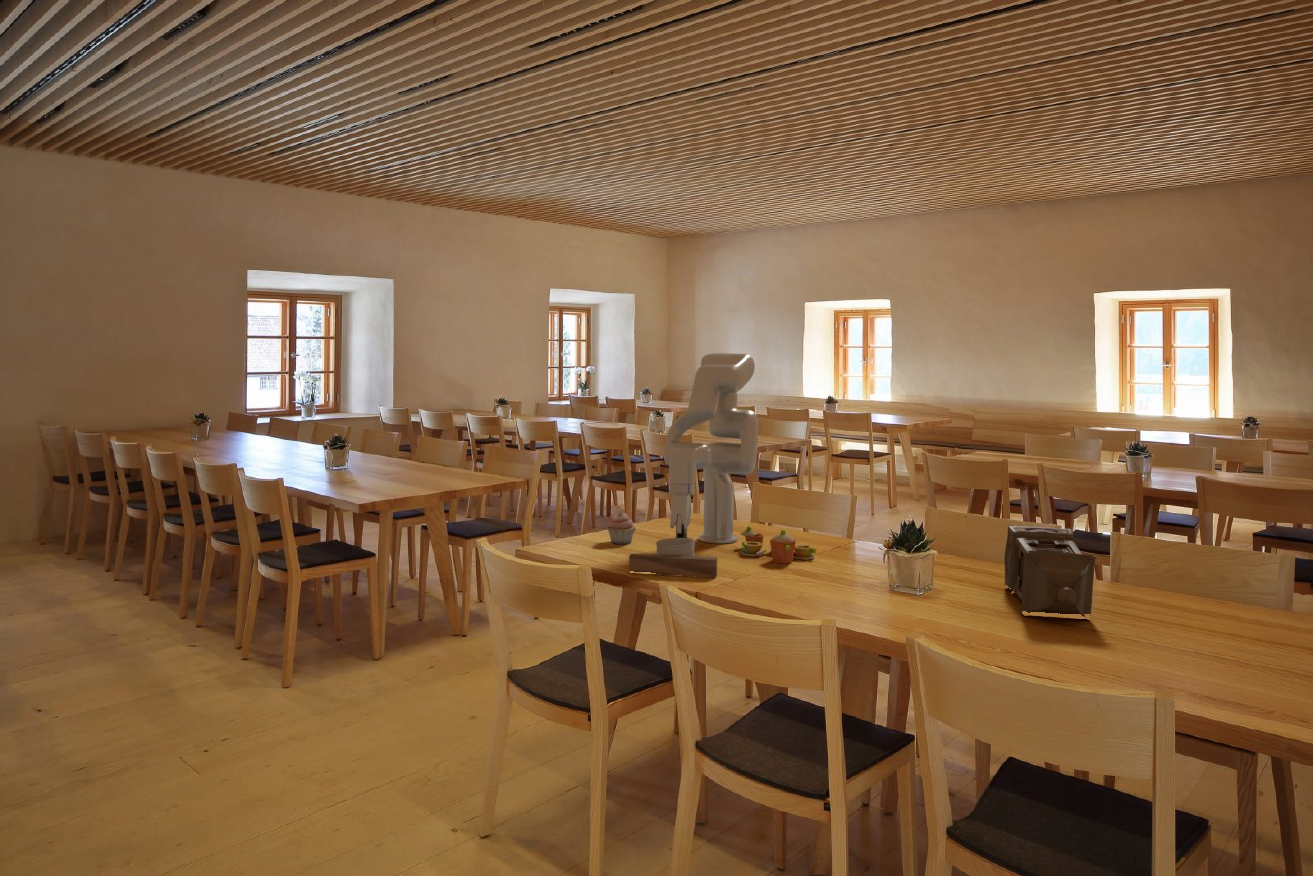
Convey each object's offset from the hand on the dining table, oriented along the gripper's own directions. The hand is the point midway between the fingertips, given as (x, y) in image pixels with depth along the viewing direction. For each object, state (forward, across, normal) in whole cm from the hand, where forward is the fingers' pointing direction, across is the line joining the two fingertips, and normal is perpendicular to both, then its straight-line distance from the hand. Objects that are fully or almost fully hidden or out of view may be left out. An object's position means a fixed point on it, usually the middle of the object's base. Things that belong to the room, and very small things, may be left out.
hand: (681, 550), depth 266 cm
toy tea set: (+4, -12, +26) cm, 29 cm away
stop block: (+3, +16, 0) cm, 17 cm away
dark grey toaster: (+3, +32, +94) cm, 100 cm away
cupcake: (+3, -20, -22) cm, 30 cm away
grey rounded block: (+3, +8, 0) cm, 9 cm away
